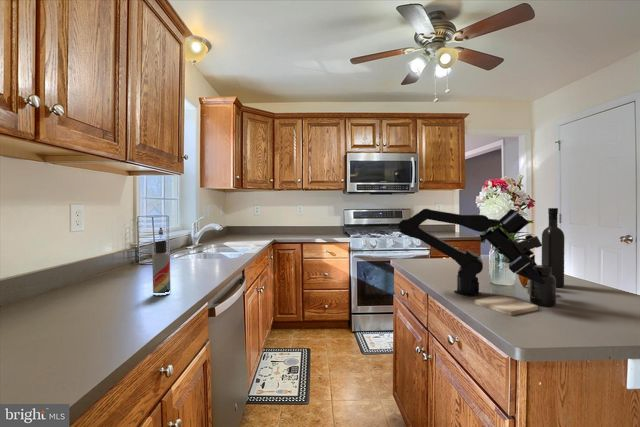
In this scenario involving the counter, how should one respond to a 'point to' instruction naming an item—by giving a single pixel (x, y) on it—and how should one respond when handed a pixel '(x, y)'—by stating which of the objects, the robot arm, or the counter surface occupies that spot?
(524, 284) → the carrot
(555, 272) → the wine bottle
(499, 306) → the maple board
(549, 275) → the supplement bottle
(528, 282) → the oak block
